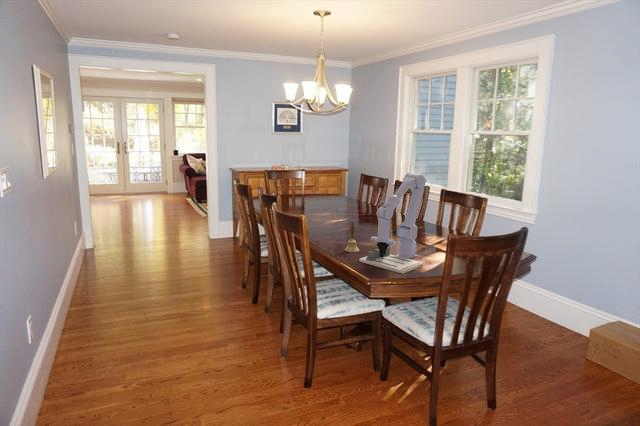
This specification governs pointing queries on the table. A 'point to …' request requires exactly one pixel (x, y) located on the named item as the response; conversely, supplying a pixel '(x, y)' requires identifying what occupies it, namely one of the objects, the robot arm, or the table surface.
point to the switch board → (394, 263)
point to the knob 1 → (371, 256)
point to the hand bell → (352, 241)
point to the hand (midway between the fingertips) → (382, 256)
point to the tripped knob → (377, 253)
